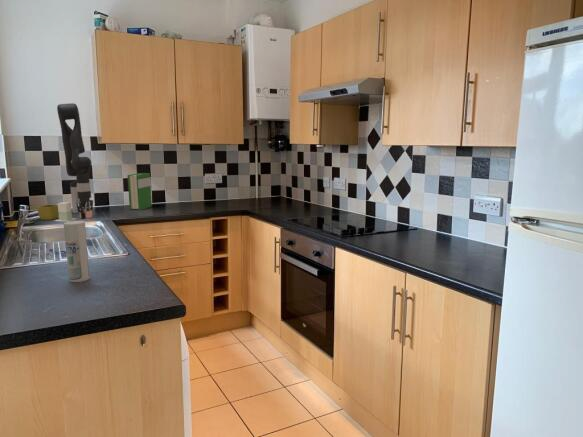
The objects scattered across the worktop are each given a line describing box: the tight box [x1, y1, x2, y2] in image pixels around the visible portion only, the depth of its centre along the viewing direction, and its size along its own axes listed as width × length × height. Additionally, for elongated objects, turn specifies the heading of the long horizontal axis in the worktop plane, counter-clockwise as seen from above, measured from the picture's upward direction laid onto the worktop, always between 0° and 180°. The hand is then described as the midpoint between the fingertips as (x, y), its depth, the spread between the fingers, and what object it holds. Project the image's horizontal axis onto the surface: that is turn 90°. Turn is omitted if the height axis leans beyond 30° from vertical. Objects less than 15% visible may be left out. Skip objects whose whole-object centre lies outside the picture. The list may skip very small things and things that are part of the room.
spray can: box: [63, 220, 90, 283], centre depth 150 cm, size 6×6×20 cm
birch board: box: [53, 217, 79, 222], centre depth 262 cm, size 10×10×1 cm
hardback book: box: [127, 172, 152, 211], centre depth 310 cm, size 18×7×24 cm, turn 171°
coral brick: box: [78, 210, 93, 219], centre depth 268 cm, size 5×5×5 cm
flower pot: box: [36, 204, 59, 221], centre depth 263 cm, size 9×9×9 cm
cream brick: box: [57, 201, 72, 212], centre depth 260 cm, size 5×5×5 cm
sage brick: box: [58, 210, 73, 220], centre depth 261 cm, size 5×5×5 cm
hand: (86, 218), depth 268 cm, fingers closed on coral brick, 5 cm apart
